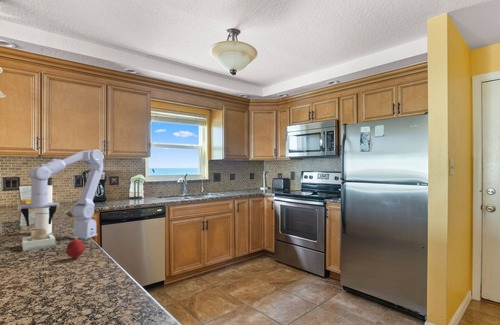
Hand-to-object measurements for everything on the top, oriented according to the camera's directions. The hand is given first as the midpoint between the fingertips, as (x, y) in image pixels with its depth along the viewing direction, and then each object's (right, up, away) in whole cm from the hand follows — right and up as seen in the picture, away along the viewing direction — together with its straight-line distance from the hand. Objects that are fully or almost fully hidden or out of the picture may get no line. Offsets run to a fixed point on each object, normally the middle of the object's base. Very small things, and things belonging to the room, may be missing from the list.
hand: (38, 224), depth 122 cm
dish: (0, -9, 0) cm, 9 cm away
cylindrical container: (-16, -10, +24) cm, 31 cm away
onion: (+27, -9, -18) cm, 34 cm away
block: (0, -8, 0) cm, 8 cm away
